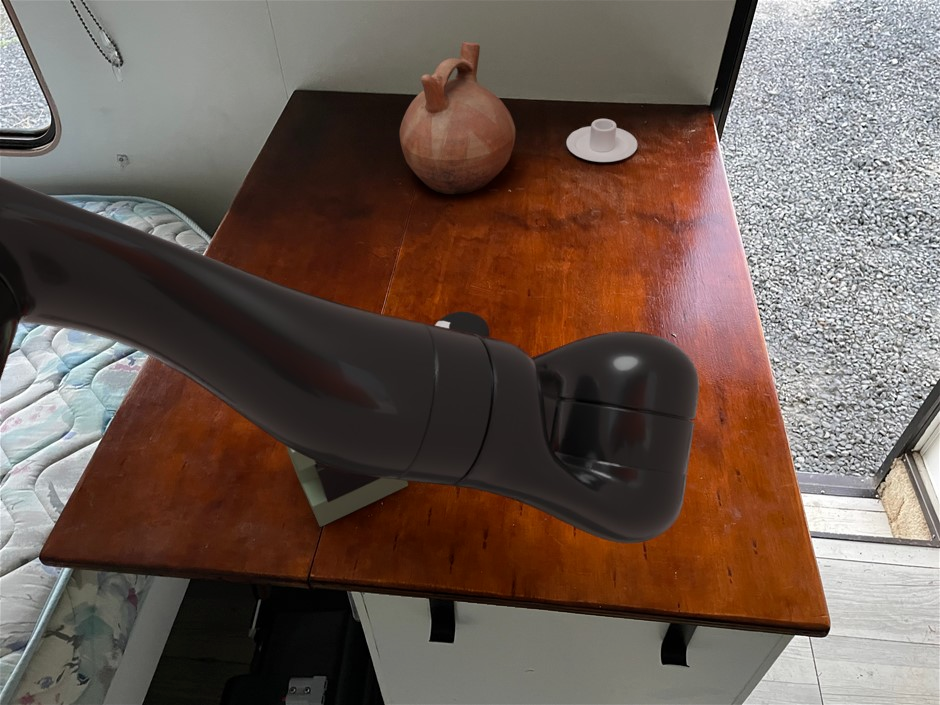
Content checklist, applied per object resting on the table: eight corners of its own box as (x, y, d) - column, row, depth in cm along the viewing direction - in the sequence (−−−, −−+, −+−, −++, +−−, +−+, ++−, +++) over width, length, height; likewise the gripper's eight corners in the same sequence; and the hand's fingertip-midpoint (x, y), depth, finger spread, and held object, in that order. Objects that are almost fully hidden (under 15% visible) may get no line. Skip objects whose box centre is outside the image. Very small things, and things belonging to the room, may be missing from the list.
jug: (477, 220, 108) (472, 95, 94) (382, 189, 115) (364, 68, 101) (534, 163, 119) (537, 43, 105) (444, 137, 126) (435, 22, 112)
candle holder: (564, 130, 126) (565, 107, 123) (632, 128, 125) (635, 105, 122) (568, 166, 118) (569, 142, 115) (641, 165, 117) (644, 141, 114)
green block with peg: (320, 527, 73) (287, 439, 62) (297, 477, 77) (263, 386, 66) (408, 486, 76) (391, 394, 65) (382, 440, 80) (362, 347, 69)
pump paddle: (328, 502, 70) (317, 471, 66) (324, 495, 70) (313, 463, 66) (393, 472, 72) (386, 440, 68) (389, 465, 72) (382, 433, 68)
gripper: (476, 298, 51) (371, 304, 64) (341, 443, 45) (256, 417, 58) (529, 373, 54) (419, 364, 67) (409, 518, 48) (314, 477, 62)
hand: (343, 388), depth 63 cm, fingers open, 8 cm apart
